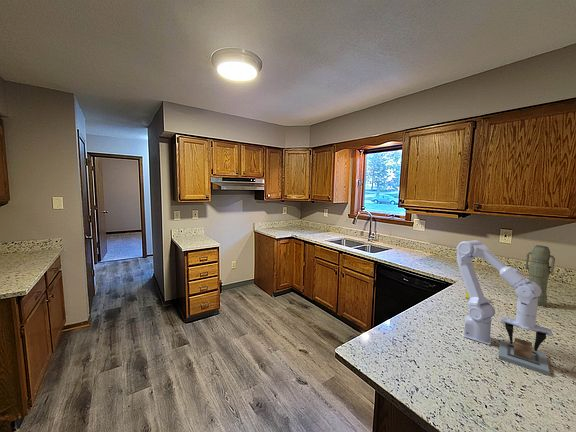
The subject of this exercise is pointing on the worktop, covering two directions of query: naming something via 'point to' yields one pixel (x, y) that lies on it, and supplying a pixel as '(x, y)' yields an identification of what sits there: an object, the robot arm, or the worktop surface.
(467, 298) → the supplement bottle
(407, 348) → the worktop surface
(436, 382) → the worktop surface
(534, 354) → the slate base plate
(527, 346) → the walnut block
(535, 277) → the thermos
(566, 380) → the worktop surface
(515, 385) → the worktop surface
